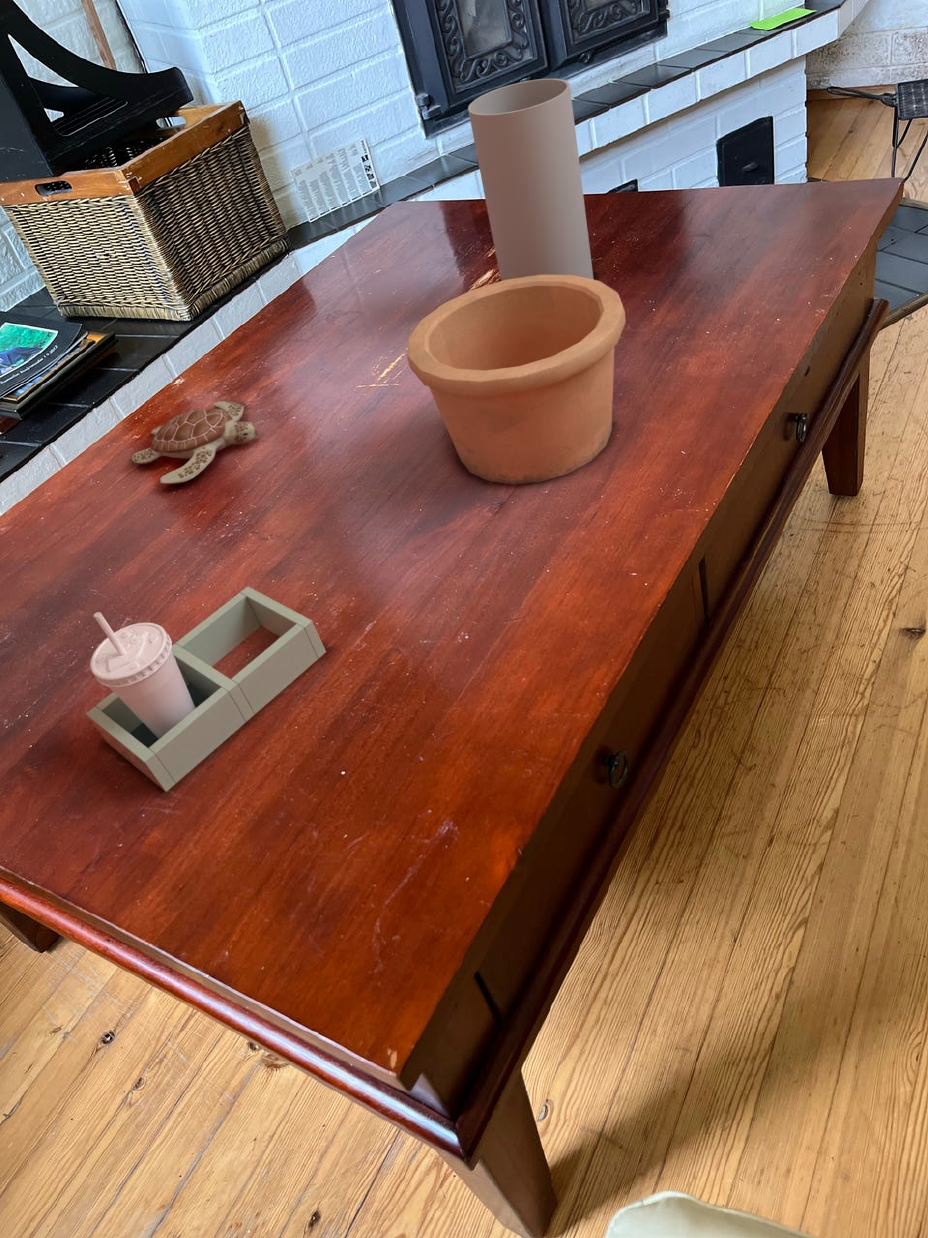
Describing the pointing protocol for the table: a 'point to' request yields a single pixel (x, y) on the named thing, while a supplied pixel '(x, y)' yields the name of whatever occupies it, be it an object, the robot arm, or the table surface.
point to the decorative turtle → (197, 438)
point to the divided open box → (214, 686)
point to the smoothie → (143, 674)
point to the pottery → (523, 373)
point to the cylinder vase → (532, 179)
